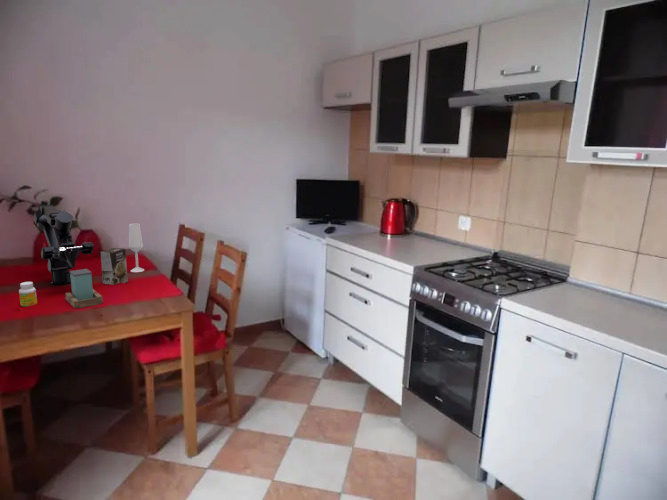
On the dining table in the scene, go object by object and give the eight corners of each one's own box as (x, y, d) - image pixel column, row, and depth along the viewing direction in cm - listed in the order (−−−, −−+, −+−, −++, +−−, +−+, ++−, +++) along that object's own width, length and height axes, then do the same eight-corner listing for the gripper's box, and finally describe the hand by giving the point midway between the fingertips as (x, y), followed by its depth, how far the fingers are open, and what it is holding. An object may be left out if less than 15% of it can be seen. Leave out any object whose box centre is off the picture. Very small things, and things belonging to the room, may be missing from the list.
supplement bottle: (20, 310, 167) (16, 286, 165) (22, 305, 172) (19, 281, 170) (36, 308, 170) (33, 284, 168) (38, 303, 175) (35, 280, 172)
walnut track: (64, 302, 177) (63, 293, 176) (94, 297, 184) (93, 288, 183) (74, 312, 167) (73, 302, 167) (104, 306, 175) (104, 296, 174)
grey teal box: (72, 299, 177) (69, 271, 174) (89, 296, 181) (86, 268, 178) (76, 304, 172) (73, 274, 170) (94, 300, 177) (91, 272, 174)
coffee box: (115, 287, 197) (112, 252, 193) (102, 286, 198) (99, 251, 195) (128, 281, 206) (126, 248, 202) (116, 280, 207) (113, 247, 203)
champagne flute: (131, 272, 219) (127, 225, 214) (129, 269, 225) (126, 223, 219) (145, 271, 223) (142, 225, 217) (143, 268, 228) (140, 222, 223)
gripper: (85, 244, 198) (94, 273, 193) (36, 250, 185) (45, 281, 180) (88, 230, 191) (99, 260, 185) (38, 234, 178) (47, 266, 173)
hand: (73, 267), depth 181 cm, fingers closed
